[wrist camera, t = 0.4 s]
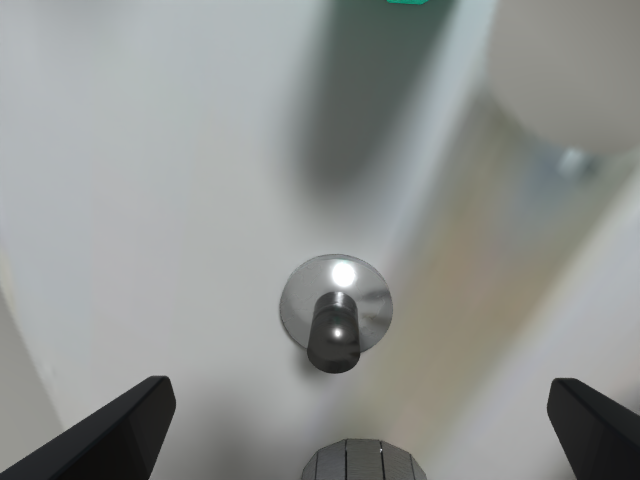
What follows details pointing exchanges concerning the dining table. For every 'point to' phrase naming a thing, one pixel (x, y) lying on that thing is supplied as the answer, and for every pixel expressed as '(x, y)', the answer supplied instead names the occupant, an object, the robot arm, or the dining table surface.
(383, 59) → the dining table surface
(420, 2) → the candle
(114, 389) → the dining table surface
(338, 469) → the pot
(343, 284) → the lid
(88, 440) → the robot arm
